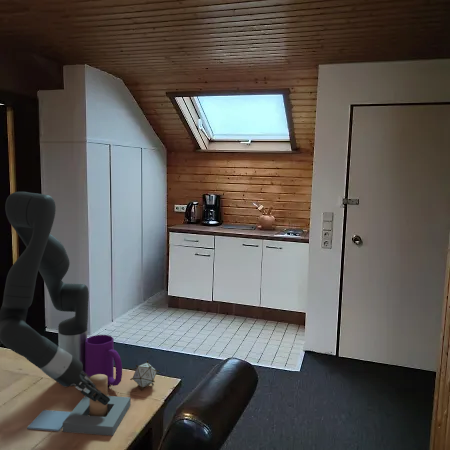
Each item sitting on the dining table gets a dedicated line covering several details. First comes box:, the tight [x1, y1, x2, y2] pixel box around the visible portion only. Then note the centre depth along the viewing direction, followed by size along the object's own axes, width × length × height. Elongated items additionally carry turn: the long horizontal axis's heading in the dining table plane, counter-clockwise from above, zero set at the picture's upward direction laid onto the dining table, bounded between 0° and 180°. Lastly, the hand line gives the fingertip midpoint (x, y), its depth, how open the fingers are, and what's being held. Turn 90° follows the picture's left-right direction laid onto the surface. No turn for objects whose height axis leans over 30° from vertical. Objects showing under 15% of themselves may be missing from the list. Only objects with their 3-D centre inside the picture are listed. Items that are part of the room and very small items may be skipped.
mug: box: [85, 334, 123, 387], centre depth 146 cm, size 9×16×15 cm, turn 53°
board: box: [62, 395, 132, 436], centre depth 127 cm, size 16×14×2 cm
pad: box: [27, 409, 72, 432], centre depth 125 cm, size 9×9×1 cm
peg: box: [88, 374, 109, 417], centre depth 127 cm, size 5×5×12 cm
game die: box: [129, 359, 160, 391], centre depth 147 cm, size 9×8×10 cm
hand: (104, 397), depth 128 cm, fingers closed on peg, 5 cm apart
